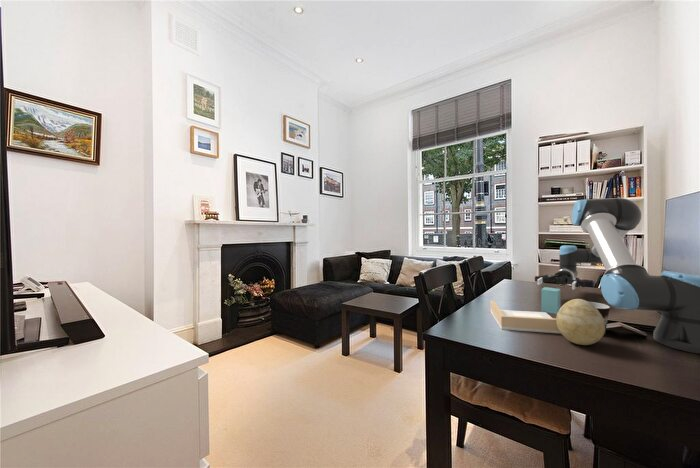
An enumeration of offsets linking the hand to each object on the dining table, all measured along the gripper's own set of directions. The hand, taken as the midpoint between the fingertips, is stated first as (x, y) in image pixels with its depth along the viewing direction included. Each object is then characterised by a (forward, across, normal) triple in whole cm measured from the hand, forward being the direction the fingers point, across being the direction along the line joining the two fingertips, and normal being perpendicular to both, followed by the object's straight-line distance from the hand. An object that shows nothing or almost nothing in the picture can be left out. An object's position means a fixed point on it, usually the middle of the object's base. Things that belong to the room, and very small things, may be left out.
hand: (554, 284), depth 135 cm
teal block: (+9, 0, -10) cm, 14 cm away
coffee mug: (+28, -16, -10) cm, 34 cm away
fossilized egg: (+42, -15, -10) cm, 46 cm away
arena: (+31, +4, -10) cm, 33 cm away
